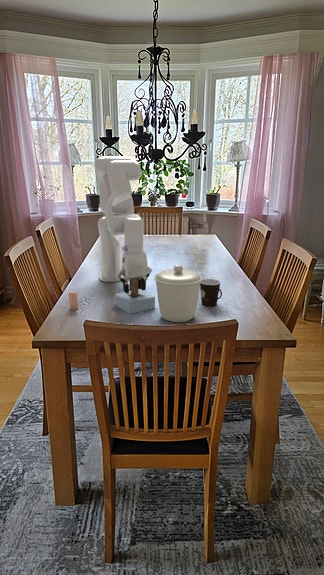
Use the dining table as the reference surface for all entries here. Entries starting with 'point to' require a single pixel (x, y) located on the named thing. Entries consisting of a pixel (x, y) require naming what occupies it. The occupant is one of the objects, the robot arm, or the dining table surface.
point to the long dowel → (134, 287)
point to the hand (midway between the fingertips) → (134, 290)
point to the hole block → (135, 301)
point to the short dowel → (73, 300)
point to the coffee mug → (210, 292)
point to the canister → (177, 293)
